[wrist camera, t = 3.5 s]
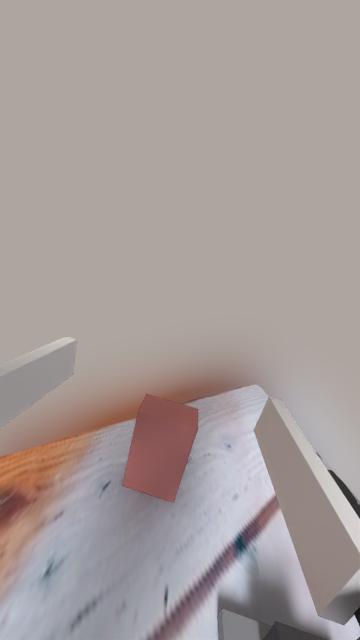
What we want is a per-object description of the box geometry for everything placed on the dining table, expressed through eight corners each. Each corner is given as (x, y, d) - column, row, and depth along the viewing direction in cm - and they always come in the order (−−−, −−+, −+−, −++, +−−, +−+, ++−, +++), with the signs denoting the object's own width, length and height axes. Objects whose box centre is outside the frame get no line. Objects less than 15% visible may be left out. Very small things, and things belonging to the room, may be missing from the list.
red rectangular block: (176, 476, 29) (198, 409, 25) (173, 502, 26) (197, 429, 22) (131, 462, 29) (146, 393, 26) (122, 485, 26) (138, 411, 22)
